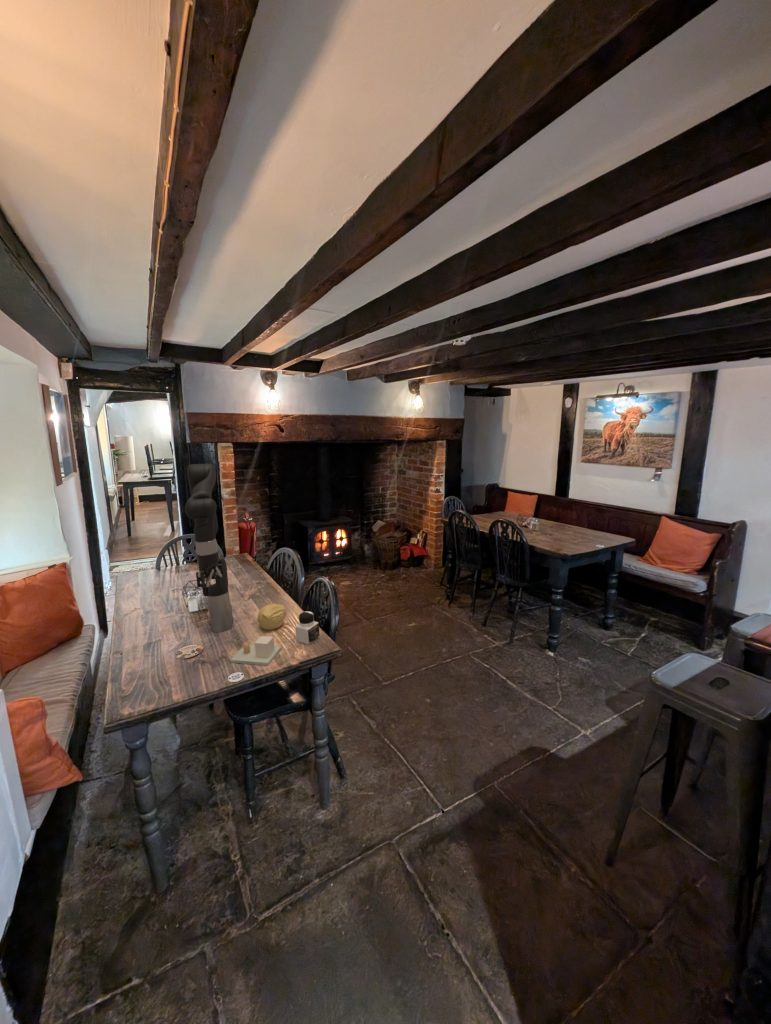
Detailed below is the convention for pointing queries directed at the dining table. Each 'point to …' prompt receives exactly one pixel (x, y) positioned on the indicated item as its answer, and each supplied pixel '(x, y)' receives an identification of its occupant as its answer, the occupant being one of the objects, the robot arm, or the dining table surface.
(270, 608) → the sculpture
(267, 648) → the beige block
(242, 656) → the board
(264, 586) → the dining table surface
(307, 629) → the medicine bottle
